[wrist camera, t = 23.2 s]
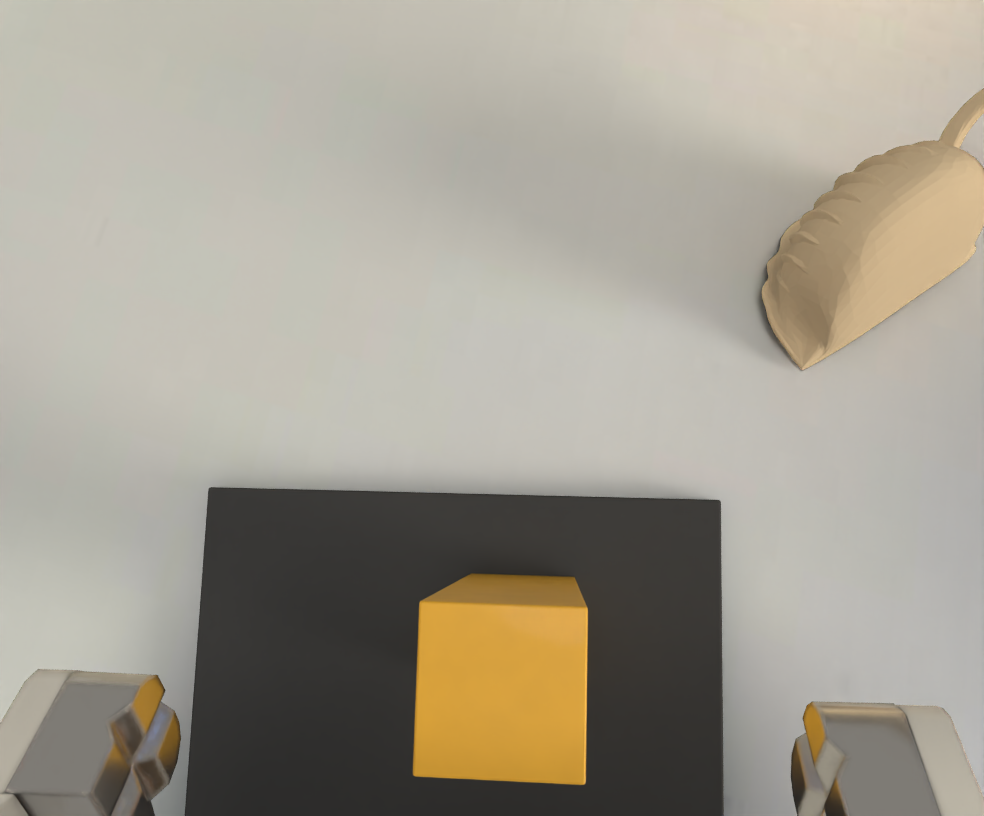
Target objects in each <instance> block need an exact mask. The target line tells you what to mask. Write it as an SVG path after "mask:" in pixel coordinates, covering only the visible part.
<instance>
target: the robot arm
mask: <svg viewBox="0 0 984 816" xmlns="http://www.w3.org/2000/svg"><path fill="white" fill-rule="evenodd" d="M164 692H165V689H164V687H163V685H162V683H161V681H160V679H159V677H158V675H147V674H126V673H106V672H85V671H78V670H50V669H38V670H37V671H36V672H35V673H33V674H32V675H31V676H30V677H29V678H28V679H27V680H26V681H25V682H24V684H23V685H22V687H21V689H20V690H19V692H18V694H17V695H16V697H15V699H14V700H13V702H12V704H11V706H10V707H9V709H8V711H7V712H6V714H5V716H4V717H3V719H2V721H1V722H0V816H155V814H154V811H153V807H152V804H151V800H152V799H153V798H154V797H155V796H156V795H157V794H158V793H159V792H161V791H162V790H163V789H164V788H165V787H166V786H167V785H168V784H169V783H170V780H171V777H172V775H173V772H174V769H175V766H176V764H177V760H178V754H179V747H180V741H181V735H180V725H179V721H178V718H177V716H176V713H175V711H174V710H172V709H171V708H169V707H168V706H167V705H165V704H164V703H162V702H161V700H162V697H163V695H164ZM803 721H804V726H805V730H806V733H805V734H803V735H801V736H800V737H798V738H797V739H796V740H795V744H794V748H793V752H792V759H791V781H792V790H793V797H794V802H795V807H796V812H797V816H984V797H983V795H982V792H981V790H980V788H979V785H978V783H977V780H976V778H975V775H974V773H973V770H972V768H971V765H970V763H969V761H968V758H967V756H966V753H965V751H964V748H963V746H962V743H961V741H960V738H959V736H958V734H957V731H956V729H955V726H954V724H953V721H952V719H951V717H950V715H949V714H948V713H947V712H946V711H945V710H944V709H943V708H941V707H938V706H923V705H895V704H894V703H853V702H811V703H810V704H808V705H807V707H806V710H805V712H804V715H803Z"/></svg>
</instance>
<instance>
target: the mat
mask: <svg viewBox="0 0 984 816" xmlns="http://www.w3.org/2000/svg"><path fill="white" fill-rule="evenodd" d="M470 574H501V575H532V576H563V577H575V580H576V582H577V584H578V587H579V589H580V592H581V594H582V596H583V599H584V601H585V604H586V606H587V608H588V642H587V724H586V783H585V784H584V785H575V784H555V783H535V782H515V781H495V780H475V779H456V778H436V777H416V776H414V775H413V752H414V726H415V701H416V675H417V649H418V623H419V603H420V601H422V600H424V599H425V598H427V597H429V596H431V595H433V594H435V593H436V592H438V591H440V590H442V589H444V588H446V587H447V586H449V585H451V584H453V583H455V582H457V581H459V580H460V579H462V578H464V577H466V576H468V575H470ZM185 816H724V805H723V697H722V590H721V502H720V501H719V500H694V499H654V498H614V497H574V496H534V495H494V494H454V493H414V492H374V491H334V490H294V489H254V488H214V487H211V488H209V491H208V505H207V519H206V532H205V546H204V560H203V574H202V587H201V601H200V615H199V628H198V642H197V656H196V670H195V683H194V697H193V711H192V724H191V738H190V752H189V766H188V779H187V793H186V807H185Z"/></svg>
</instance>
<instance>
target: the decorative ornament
mask: <svg viewBox="0 0 984 816" xmlns="http://www.w3.org/2000/svg"><path fill="white" fill-rule="evenodd" d="M983 113H984V88H983V89H982V90H981V91H979V92H978V93H977V94H975V95H974V96H973V97H972V98H971V99H969V100H968V101H967V102H966V103H965V104H964V105H963V106H962V107H961V108H960V110H959V111H958V112H957V113H956V114H955V115H954V117H953V118H952V119H951V120H950V122H949V123H948V125H947V126H946V128H945V129H944V131H943V133H942V135H941V137H940V139H939V141H923V142H918V143H916V144H913V145H906V146H899V147H896V148H894V149H891V150H889V151H887V152H886V153H885V154H883V155H876V156H872V157H870V158H868V159H866V160H864V161H863V162H861V163H860V164H859V165H858V166H857V167H856V169H855V170H854V171H853V172H850V173H845V174H843V175H841V176H839V177H838V179H837V180H836V181H835V185H834V189H833V191H830V192H828V193H826V194H823V195H822V196H821V197H819V199H818V200H817V201H816V202H815V204H814V209H813V210H812V211H809V212H807V213H806V214H804V215H803V216H802V218H801V219H799V220H798V221H796V222H795V223H794V224H792V225H791V226H790V227H789V228H788V229H787V230H786V231H785V233H784V234H783V236H782V237H781V242H780V248H779V251H778V252H777V254H776V255H775V256H774V257H773V258H771V259H770V260H769V261H768V263H767V272H768V280H767V281H766V283H765V284H764V286H763V288H762V299H763V302H764V305H765V308H766V312H767V317H768V321H769V323H770V325H771V327H772V329H773V332H774V334H775V335H776V336H777V338H778V339H779V341H780V342H781V344H782V345H783V346H784V348H785V349H786V351H787V352H788V353H789V355H790V356H791V358H792V359H793V360H794V362H795V363H796V364H797V365H798V366H799V367H800V369H801V370H804V369H806V368H808V367H810V366H812V365H813V364H815V363H817V362H819V361H821V360H822V359H824V358H826V357H827V356H829V355H831V354H832V353H834V352H836V351H837V350H839V349H841V348H842V347H844V346H845V345H847V344H848V343H850V342H852V341H853V340H855V339H856V338H858V337H860V336H861V335H863V334H864V333H865V332H867V331H868V330H870V329H871V328H873V327H874V326H876V325H877V324H879V323H880V322H882V321H883V320H885V319H886V318H887V317H889V316H890V315H892V314H893V313H895V312H896V311H897V310H899V309H900V308H902V307H903V306H905V305H906V304H907V303H909V302H910V301H912V300H913V299H915V298H916V297H917V296H919V295H920V294H922V293H923V292H925V291H926V290H928V289H929V288H930V287H932V286H933V285H935V284H936V283H938V282H939V281H941V280H942V279H944V278H945V277H947V276H948V275H949V274H951V273H952V272H954V271H955V270H956V269H958V268H959V267H960V266H962V265H963V264H964V263H965V262H967V261H968V260H969V259H970V258H971V256H972V255H973V254H974V253H975V251H976V246H975V241H976V240H977V238H978V236H979V234H980V232H981V230H982V228H983V225H984V168H983V167H982V165H981V164H980V163H979V162H978V161H977V159H976V158H974V157H973V156H971V155H970V154H968V153H967V152H965V151H963V150H961V149H960V146H961V144H962V142H963V140H964V138H965V136H966V134H967V133H968V131H969V130H970V129H971V127H972V126H973V125H974V123H975V122H976V121H977V120H978V118H979V117H980V116H981V115H982V114H983Z"/></svg>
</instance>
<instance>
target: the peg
mask: <svg viewBox="0 0 984 816" xmlns="http://www.w3.org/2000/svg"><path fill="white" fill-rule="evenodd" d="M587 642H588V608H587V606H586V604H585V601H584V599H583V596H582V594H581V592H580V589H579V587H578V584H577V582H576V580H575V577H563V576H532V575H501V574H470V575H468V576H466V577H464V578H462V579H460V580H459V581H457V582H455V583H453V584H451V585H449V586H447V587H446V588H444V589H442V590H440V591H438V592H436V593H435V594H433V595H431V596H429V597H427V598H425V599H424V600H422V601H420V603H419V623H418V649H417V675H416V701H415V726H414V752H413V775H414V776H416V777H436V778H456V779H475V780H495V781H515V782H535V783H555V784H575V785H584V784H585V783H586V724H587Z"/></svg>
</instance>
